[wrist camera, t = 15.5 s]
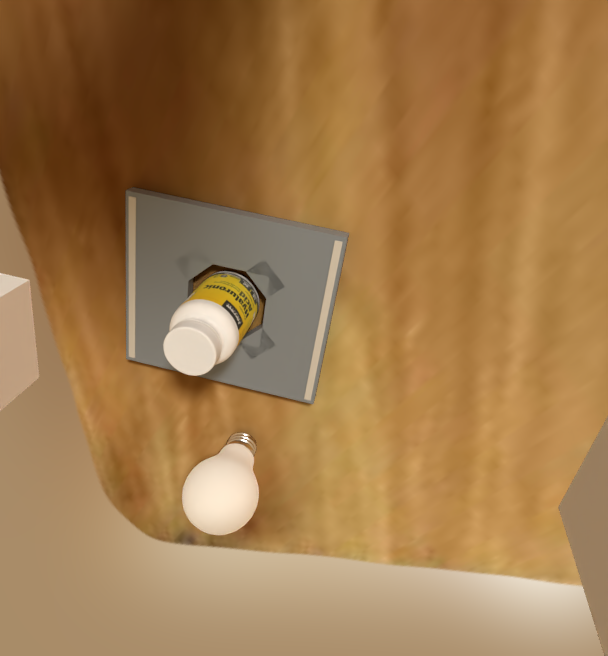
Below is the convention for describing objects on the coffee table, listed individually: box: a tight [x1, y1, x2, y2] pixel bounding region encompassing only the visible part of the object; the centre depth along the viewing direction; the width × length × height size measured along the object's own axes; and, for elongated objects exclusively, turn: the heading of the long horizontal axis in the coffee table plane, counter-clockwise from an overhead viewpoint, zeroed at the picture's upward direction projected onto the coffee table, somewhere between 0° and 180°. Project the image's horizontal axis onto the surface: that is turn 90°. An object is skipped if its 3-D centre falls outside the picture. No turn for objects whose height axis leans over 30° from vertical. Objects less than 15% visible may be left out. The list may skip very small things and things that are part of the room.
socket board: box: [126, 187, 349, 404], centre depth 46 cm, size 16×18×1 cm
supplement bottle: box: [163, 271, 259, 376], centre depth 42 cm, size 5×5×10 cm
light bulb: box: [182, 432, 259, 535], centre depth 49 cm, size 7×7×11 cm
